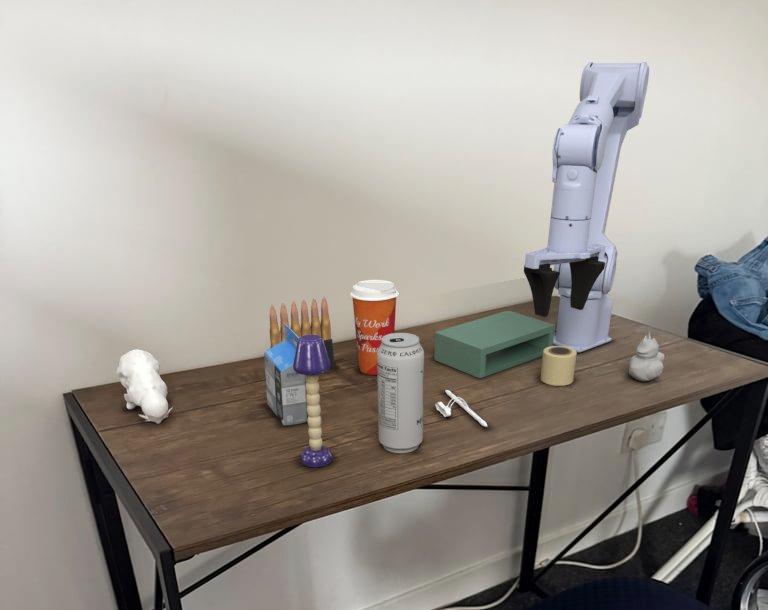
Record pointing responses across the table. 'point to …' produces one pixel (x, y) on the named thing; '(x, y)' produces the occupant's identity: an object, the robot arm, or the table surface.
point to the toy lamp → (313, 395)
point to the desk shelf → (493, 343)
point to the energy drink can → (400, 392)
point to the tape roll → (558, 365)
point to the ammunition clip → (303, 325)
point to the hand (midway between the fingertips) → (559, 311)
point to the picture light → (446, 410)
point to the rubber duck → (646, 360)
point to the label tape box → (285, 382)
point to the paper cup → (373, 319)
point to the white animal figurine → (143, 384)
